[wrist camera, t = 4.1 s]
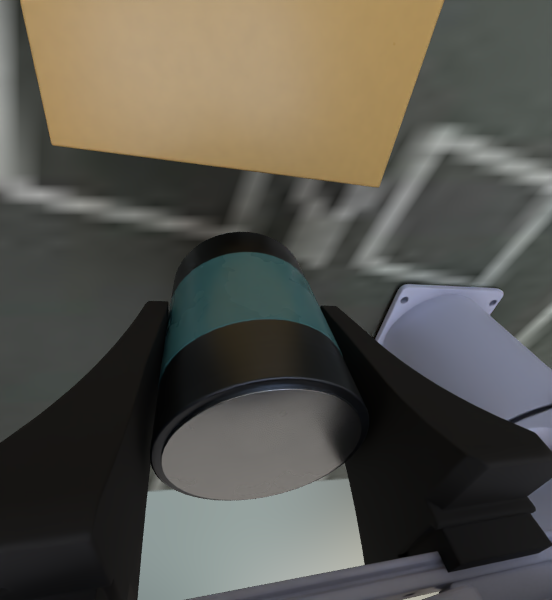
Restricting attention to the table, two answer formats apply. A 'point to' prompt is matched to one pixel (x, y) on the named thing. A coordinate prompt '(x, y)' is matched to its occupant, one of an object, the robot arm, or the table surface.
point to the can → (250, 377)
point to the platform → (233, 80)
